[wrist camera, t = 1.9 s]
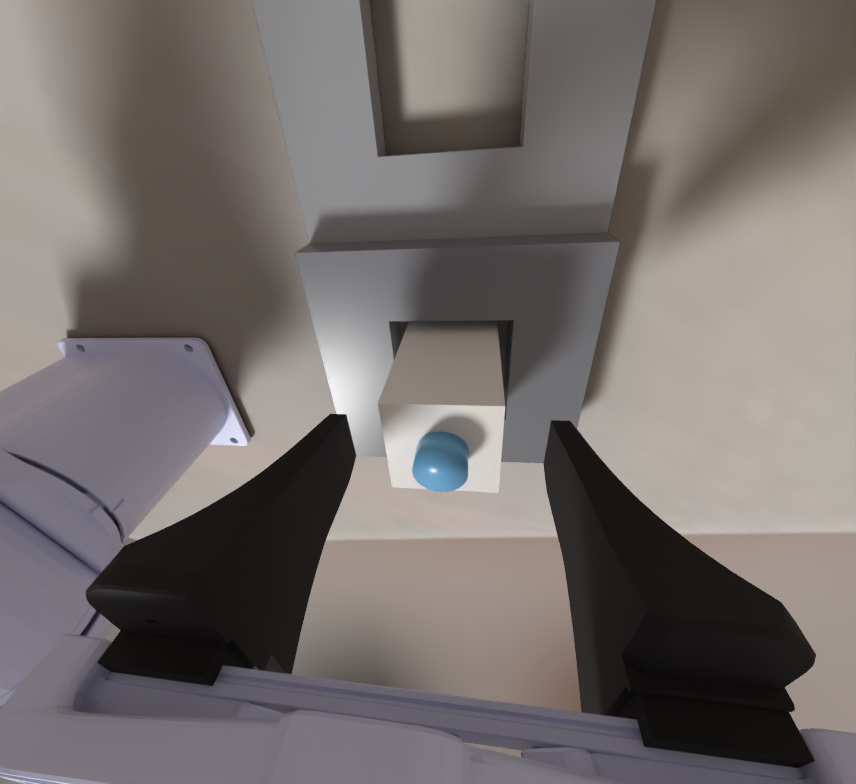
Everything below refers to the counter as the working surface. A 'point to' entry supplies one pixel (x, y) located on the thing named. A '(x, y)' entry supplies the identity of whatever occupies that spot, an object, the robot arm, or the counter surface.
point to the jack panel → (459, 207)
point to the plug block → (445, 407)
